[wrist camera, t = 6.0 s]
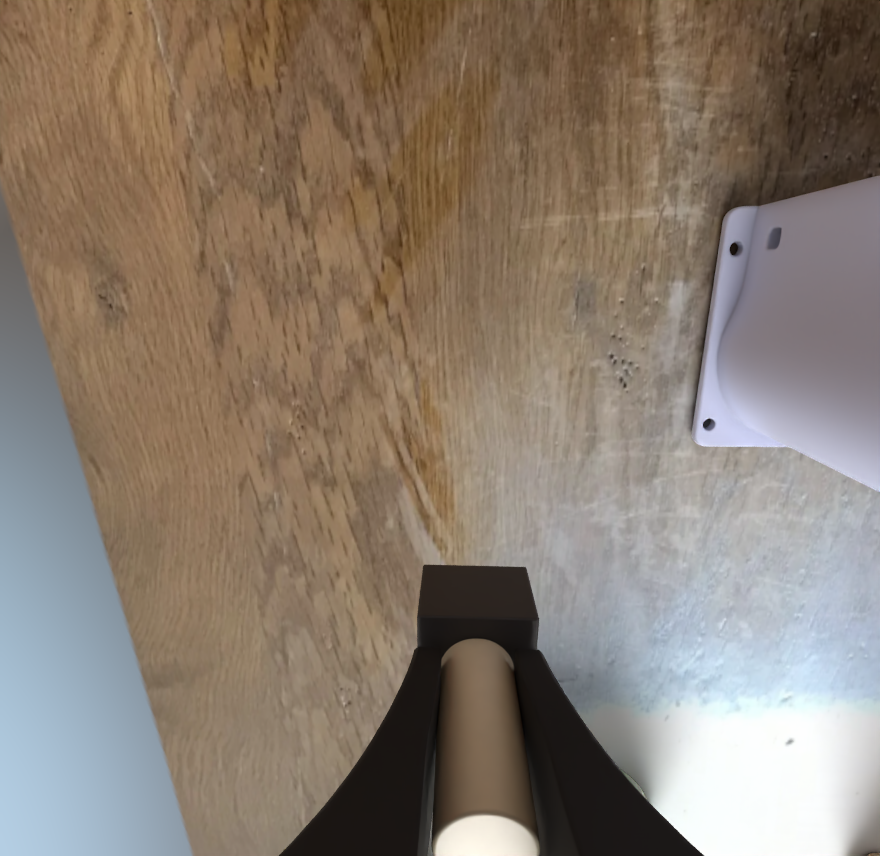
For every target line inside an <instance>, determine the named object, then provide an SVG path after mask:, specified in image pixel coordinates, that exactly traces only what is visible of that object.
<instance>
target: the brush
mask: <svg viewBox="0 0 880 856" xmlns="http://www.w3.org/2000/svg"><path fill="white" fill-rule="evenodd" d="M538 627H539V618H538V613H537V609H536V605H535V601H534V597H533V593H532V589H531V585H530V581H529V577H528V573H527V569H526V567H499V566H457V565H424V566H423V573H422V581H421V589H420V598H419V606H418V615H417V643H418V647H442V654H441V691H440V705H439V714H438V723H437V735H436V757H435V779H434V801H433V824H432V852H433V856H539V854H540V840H539V833H538V826H537V820H536V813H535V806H534V799H533V793H532V786H531V779H530V773H529V766H528V759H527V753H526V746H525V739H524V733H523V726H522V719H521V713H520V707H519V701H518V695H517V688H516V681H515V674H514V666H515V649H527V650H537V640H538Z"/></svg>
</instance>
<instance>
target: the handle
mask: <svg viewBox="0 0 880 856" xmlns="http://www.w3.org/2000/svg"><path fill="white" fill-rule="evenodd" d="M868 856H880V854H879V853H870V854H868Z"/></svg>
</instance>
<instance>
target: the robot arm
mask: <svg viewBox="0 0 880 856" xmlns="http://www.w3.org/2000/svg"><path fill="white" fill-rule="evenodd" d="M732 243H736V244H737V245H738V251H737V253H736V254H735V255H732V254H731V253H730V249H729V248H730V246H731V244H732ZM709 418H710V419H711V423H710V425H709V426H708V427H705V428H703V422H704V421H705V420H706V419H709ZM692 439H693V440H694V441H695V442H696V443H697V444H699V445H700V446H705V447H790V448H792V449H794V450H796V451H798V452H800V453H802V454H804V455H806V456H808V457H810V458H812V459H814V460H816V461H818V462H820V463H822V464H824V465H826V466H828V467H830V468H832V469H834V470H836V471H838V472H840V473H842V474H844V475H846V476H848V477H850V478H852V479H854V480H856V481H858V482H860V483H862V484H864V485H866V486H868V487H870V488H872V489H874V490H876V491H878V492H880V175H879V176H875V177H871V178H867V179H863V180H859V181H855V182H851V183H847V184H843V185H839V186H836V187H832V188H828V189H824V190H820V191H816V192H812V193H808V194H804V195H800V196H796V197H793V198H789V199H785V200H781V201H777V202H773V203H769V204H765V205H761V206H741V207H736V208H733V209H731V210H730V211H728V212H727V214H726V215H725V216H724V219H723V223H722V230H721V237H720V243H719V250H718V257H717V264H716V271H715V277H714V284H713V291H712V298H711V305H710V311H709V318H708V325H707V332H706V339H705V345H704V352H703V359H702V366H701V373H700V380H699V386H698V393H697V400H696V407H695V414H694V420H693V427H692ZM441 654H442V647H418V648H416V649H415V650H414V654H413V657H412V660H411V663H410V666H409V669H408V671H407V674H406V676H405V678H404V681H403V683H402V685H401V687H400V689H399V691H398V693H397V695H396V697H395V699H394V701H393V703H392V705H391V707H390V709H389V711H388V713H387V715H386V717H385V718H384V720H383V722H382V723H381V725H380V727H379V729H378V730H377V732H376V734H375V736H374V737H373V739H372V741H371V742H370V744H369V745H368V747H367V748H366V750H365V751H364V753H363V755H362V756H361V758H360V759H359V760H358V762H357V763H356V765H355V766H354V768H353V769H352V770H351V772H350V773H349V775H348V776H347V777H346V779H345V780H344V781H343V783H342V784H341V785H340V786H339V788H338V789H337V790H336V792H335V793H334V794H333V796H332V797H331V798H330V799H329V801H328V802H327V803H326V804H325V806H324V807H323V808H322V809H321V810H320V811H319V813H318V814H317V815H316V816H315V817H314V818H313V819H312V820H311V822H310V823H309V824H308V825H307V826H306V827H305V828H304V829H303V830H302V832H301V833H300V834H299V835H298V836H297V837H296V838H295V839H294V841H293V842H292V843H291V844H290V845H289V846H288V847H287V848H286V849H285V850H284V851H283V852H282V853H281V854H280V855H279V856H428V847H429V838H430V830H431V821H432V813H433V801H434V779H435V757H436V735H437V723H438V714H439V705H440V691H441ZM514 674H515V681H516V688H517V695H518V701H519V707H520V713H521V719H522V726H523V733H524V739H525V746H526V753H527V759H528V766H529V773H530V779H531V786H532V793H533V799H534V806H535V813H536V820H537V826H538V833H539V840H540V854H539V856H704V855H703V854H702V853H700V852H699V851H698V850H697V849H696V848H695V847H694V846H693V845H692V844H690V843H689V842H688V841H687V840H686V839H685V838H684V837H683V836H682V835H681V834H680V833H679V832H678V831H677V830H676V829H675V828H674V827H673V826H672V825H671V824H670V823H669V822H668V821H667V820H666V819H665V818H664V817H663V816H662V815H661V814H660V813H659V812H658V811H657V810H656V809H655V808H654V807H653V806H652V805H651V804H650V803H649V802H648V801H647V799H646V798H645V797H644V796H643V795H642V794H641V793H640V792H639V791H638V790H637V789H636V787H635V786H634V785H633V784H632V783H631V782H630V781H629V779H628V778H627V777H626V776H625V775H624V774H623V772H622V771H621V770H620V769H619V768H618V766H617V765H616V764H615V763H614V762H613V760H612V759H611V758H610V757H609V755H608V754H607V753H606V751H605V750H604V749H603V748H602V746H601V745H600V744H599V742H598V741H597V740H596V738H595V737H594V736H593V734H592V733H591V731H590V730H589V729H588V727H587V726H586V724H585V723H584V722H583V720H582V719H581V717H580V716H579V714H578V713H577V711H576V710H575V708H574V707H573V705H572V704H571V702H570V701H569V699H568V697H567V696H566V694H565V693H564V691H563V689H562V688H561V686H560V684H559V683H558V681H557V679H556V678H555V676H554V674H553V672H552V671H551V669H550V667H549V665H548V663H547V661H546V659H545V658H544V655H543V654H542V653H541V652H540V651H539V650H527V649H515V666H514Z"/></svg>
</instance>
